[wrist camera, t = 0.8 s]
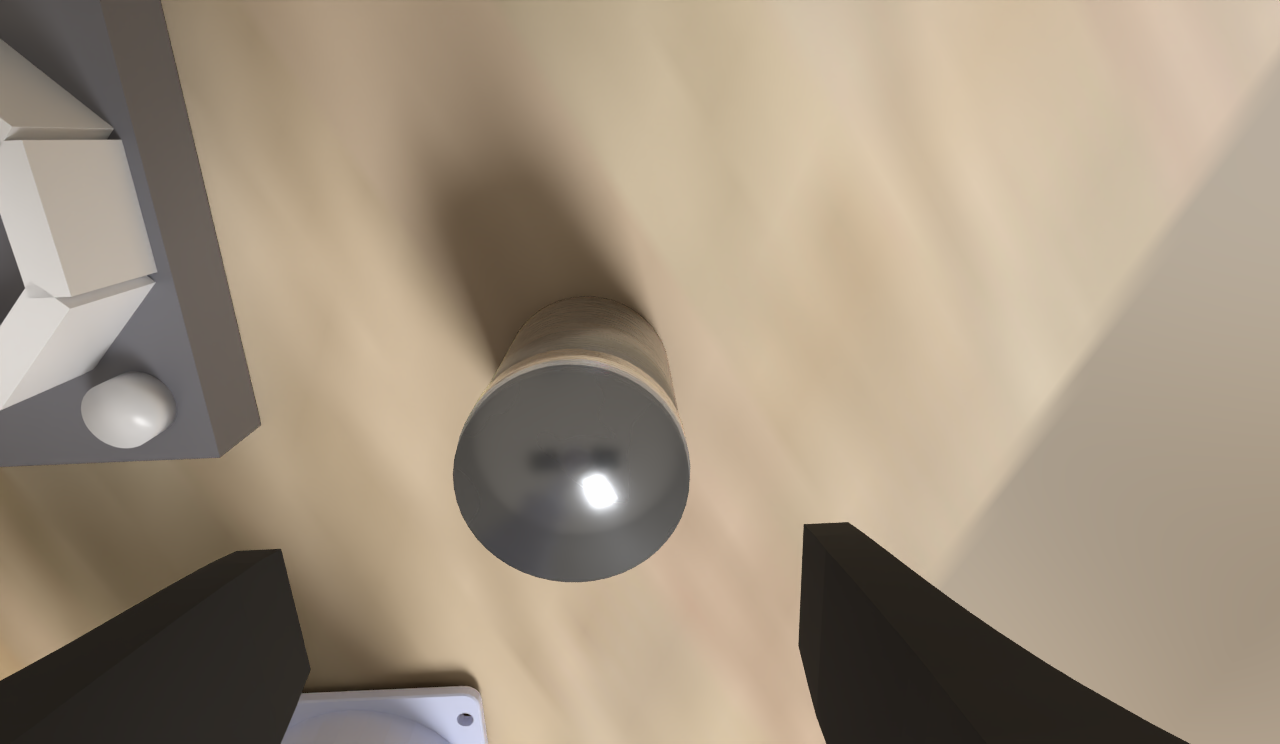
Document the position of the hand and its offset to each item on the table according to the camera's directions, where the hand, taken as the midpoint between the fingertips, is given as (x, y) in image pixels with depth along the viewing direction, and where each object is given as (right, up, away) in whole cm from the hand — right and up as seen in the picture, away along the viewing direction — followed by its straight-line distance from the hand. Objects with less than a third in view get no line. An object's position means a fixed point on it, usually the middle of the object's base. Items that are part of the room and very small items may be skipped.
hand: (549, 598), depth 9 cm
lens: (0, +3, +9) cm, 9 cm away
